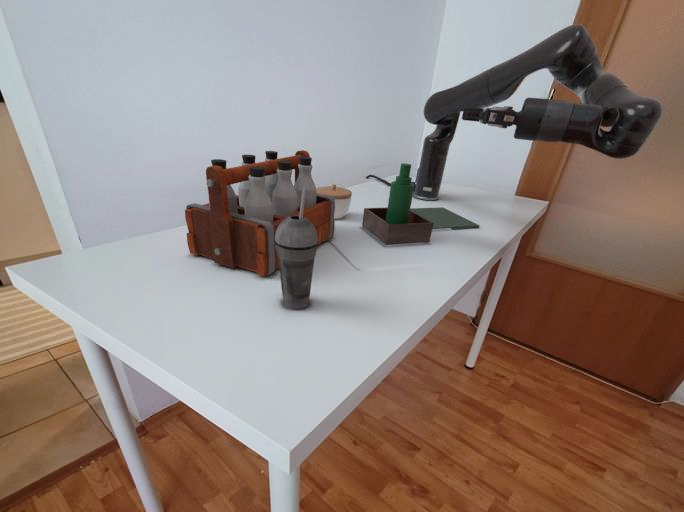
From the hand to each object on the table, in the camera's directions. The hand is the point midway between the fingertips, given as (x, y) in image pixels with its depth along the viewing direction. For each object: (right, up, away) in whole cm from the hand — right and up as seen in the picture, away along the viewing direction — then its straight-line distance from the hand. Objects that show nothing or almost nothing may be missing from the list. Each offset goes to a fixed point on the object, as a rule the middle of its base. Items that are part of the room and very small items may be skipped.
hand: (464, 113), depth 81 cm
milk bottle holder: (-45, -28, +8) cm, 54 cm away
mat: (+4, -11, +36) cm, 38 cm away
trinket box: (-30, -13, +30) cm, 44 cm away
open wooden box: (-12, -21, +20) cm, 32 cm away
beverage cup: (-36, -45, -14) cm, 59 cm away
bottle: (-12, -21, +20) cm, 31 cm away
